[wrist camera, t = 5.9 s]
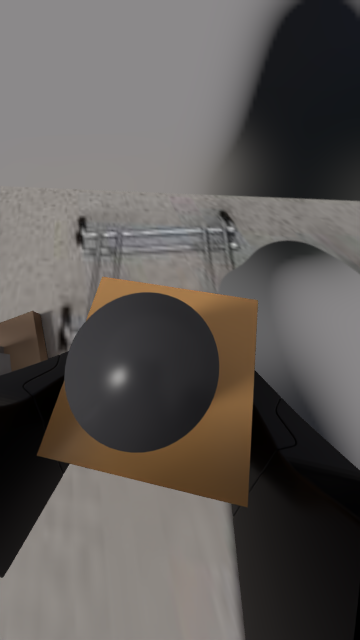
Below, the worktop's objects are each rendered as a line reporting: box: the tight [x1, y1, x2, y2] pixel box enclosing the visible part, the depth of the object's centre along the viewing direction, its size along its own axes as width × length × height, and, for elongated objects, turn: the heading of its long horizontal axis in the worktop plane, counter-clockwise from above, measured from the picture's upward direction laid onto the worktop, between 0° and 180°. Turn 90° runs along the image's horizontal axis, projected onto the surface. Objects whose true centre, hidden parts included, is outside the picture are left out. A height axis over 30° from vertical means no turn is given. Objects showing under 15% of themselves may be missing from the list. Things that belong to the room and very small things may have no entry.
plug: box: [37, 277, 258, 507], centre depth 9 cm, size 5×5×13 cm
